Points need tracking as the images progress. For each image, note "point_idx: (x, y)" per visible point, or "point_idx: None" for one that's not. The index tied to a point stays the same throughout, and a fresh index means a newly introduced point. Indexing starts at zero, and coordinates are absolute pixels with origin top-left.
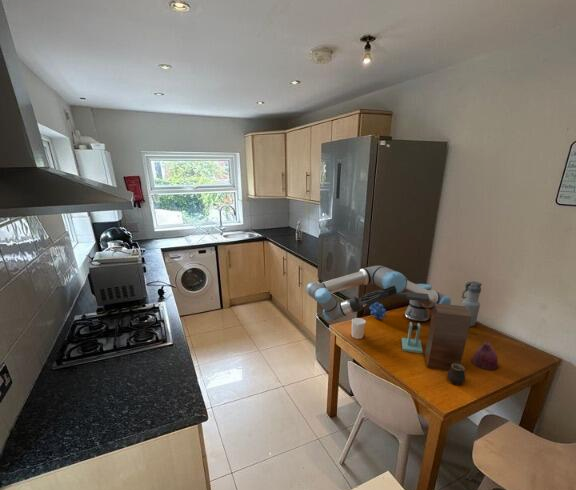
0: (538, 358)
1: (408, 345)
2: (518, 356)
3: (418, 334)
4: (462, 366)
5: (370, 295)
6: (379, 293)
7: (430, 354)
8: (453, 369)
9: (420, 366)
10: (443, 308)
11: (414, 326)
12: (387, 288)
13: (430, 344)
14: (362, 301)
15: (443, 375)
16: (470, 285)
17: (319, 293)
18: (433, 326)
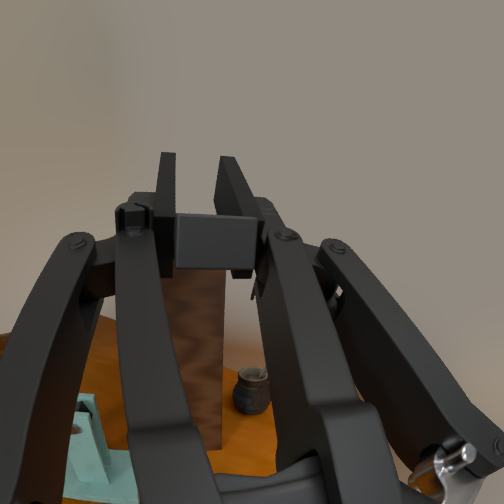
0: (106, 324)
1: (109, 481)
2: (104, 336)
3: (101, 424)
4: (244, 369)
5: (183, 397)
6: (252, 245)
7: (221, 412)
8: (266, 381)
9: (224, 462)
10: None
11: (83, 411)
12: (174, 181)
13: (203, 393)
14: None
15: (238, 423)
16: None
17: None
18: (196, 331)
